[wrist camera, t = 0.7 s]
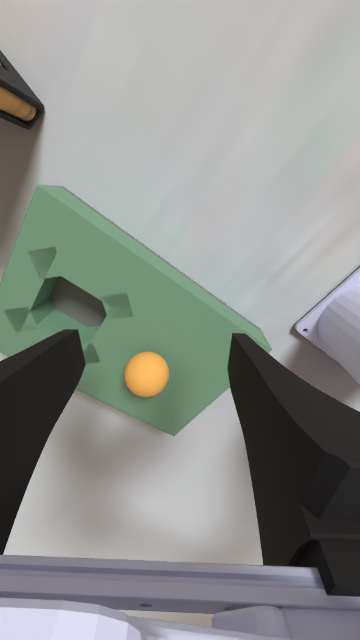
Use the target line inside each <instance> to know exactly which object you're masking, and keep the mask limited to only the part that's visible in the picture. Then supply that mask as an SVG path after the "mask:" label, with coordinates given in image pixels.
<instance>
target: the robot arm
mask: <svg viewBox="0 0 360 640" xmlns="http://www.w3.org/2000/svg"><path fill="white" fill-rule="evenodd" d="M295 329H296V331H297V332H299V333H300V334H301V335H303V336H304V337H305V338H306V339H308V340H309V341H310V342H312V343H313V344H314V345H316V346H317V347H318V348H320V349H321V350H322V351H323V352H325V353H326V354H327V355H329V356H330V357H331V358H333V359H334V360H335V361H337V362H338V363H339V364H340V365H342V367H343V368H344V369H345V370H346V371H347V372H348V373H349V374H350V375H351V376H352V377H353V378H354V380H355V381H356V382H357V383H358V384H359V385H360V267H359V268H358V269H357V270H356V271H355V272H354V273H353V274H352V275H350V276H349V277H348V278H347V279H346V280H345V281H344V282H343V283H341V284H340V285H339V286H338V287H337V288H336V289H335V290H334V291H332V292H331V293H330V294H329V295H328V296H327V297H326V298H325V299H323V300H322V301H321V302H320V303H319V304H318V305H317V306H316V307H314V308H313V309H312V310H311V311H310V312H309V313H308V314H307V315H305V316H304V317H303V318H302V319H301V320H300V321H299V322H298V323H296V325H295ZM303 329H306V330H305V331H303ZM85 366H86V362H85V357H84V353H83V349H82V344H81V340H80V335H79V331H78V329H64V330H62V331H60V332H57V333H55V334H53V335H51V336H49V337H47V338H46V339H44V340H42V341H40V342H38V343H36V344H34V345H32V346H30V347H28V348H26V349H25V350H23V351H21V352H19V353H17V354H14V355H12V356H10V357H8V358H6V359H4V360H2V361H0V640H360V412H359V411H357V410H355V409H353V408H351V407H349V406H347V405H345V404H343V403H341V402H339V401H337V400H336V399H334V398H332V397H330V396H328V395H327V394H325V393H323V392H321V391H320V390H318V389H316V388H315V387H313V386H312V385H310V384H308V383H307V382H305V381H304V380H302V379H301V378H299V377H298V376H296V375H295V374H294V373H292V372H291V371H289V370H288V369H287V368H286V367H284V366H283V365H282V364H280V363H279V362H278V361H277V360H275V359H274V358H273V357H272V356H271V355H269V354H268V353H267V352H266V351H265V350H264V349H263V348H261V347H260V346H259V345H258V344H257V343H256V342H255V341H254V340H253V339H251V338H250V337H249V336H248V335H247V334H246V333H232V338H231V345H230V352H229V360H228V367H227V369H228V376H229V383H230V388H231V392H232V396H233V399H234V403H235V406H236V410H237V413H238V417H239V420H240V424H241V427H242V431H243V435H244V439H245V444H246V450H247V456H248V461H249V467H250V473H251V479H252V486H253V492H254V499H255V505H256V512H257V519H258V526H259V534H260V542H261V549H262V557H263V565H264V566H263V565H239V564H214V563H190V562H166V561H142V560H118V559H93V558H69V557H45V556H21V555H3V553H4V550H5V547H6V544H7V541H8V538H9V535H10V532H11V529H12V527H13V524H14V521H15V518H16V515H17V512H18V510H19V507H20V504H21V502H22V499H23V497H24V494H25V491H26V489H27V486H28V483H29V481H30V479H31V476H32V474H33V471H34V469H35V467H36V464H37V462H38V459H39V457H40V455H41V453H42V450H43V448H44V446H45V444H46V441H47V439H48V437H49V435H50V433H51V431H52V429H53V427H54V425H55V423H56V422H57V420H58V418H59V417H60V415H61V413H62V411H63V410H64V408H65V406H66V404H67V403H68V401H69V399H70V397H71V396H72V394H73V392H74V390H75V389H76V387H77V385H78V383H79V381H80V379H81V376H82V374H83V371H84V368H85ZM114 609H117V610H114ZM118 610H139V611H162V612H163V611H164V612H183V613H205V614H214V616H213V618H212V628H211V627H205V626H197V625H191V624H184V623H177V622H169V621H162V620H155V619H149V618H141V617H133V616H128V615H127V614H125V613H124V612H121V611H118Z"/></svg>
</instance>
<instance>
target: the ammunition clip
mask: <svg viewBox="0 0 360 640" xmlns="http://www.w3.org/2000/svg"><path fill="white" fill-rule="evenodd" d="M43 110H44V105H43V104H42V103H41V101H40V100H39V99H38V98H37V96H36V95H35V94H34V92H33V91H32V90H31V89H30V87H29V86H28V85H27V84H26V82H25V81H24V80H23V79H22V77H21V76H20V75H19V73H18V72H17V71H16V70H15V68H14V67H13V66H12V65H11V63H10V62H9V61H8V60H7V58H6V57H5V56H4V54H3V53H2V52H1V51H0V117H1V118H3V119H5V120H7V121H10V122H12V123H14V124H17V125H19V126H21V127H23V128H26V129H28V130H29V129H30V128H31V126H32V125H33V124H34V122H35V121H36V120H37V118H38V117H39V116H40V114H41V113H42V112H43Z"/></svg>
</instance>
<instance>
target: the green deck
mask: <svg viewBox="0 0 360 640" xmlns="http://www.w3.org/2000/svg"><path fill="white" fill-rule="evenodd" d="M64 329H78V331H79V335H80V340H81V344H82V349H83V353H84V357H85V362H86V366H85V368H84V371H83V374H82V376H81V379H80V381H79V383H78V385H77V387H76V389H78V390H80V391H82V392H84V393H86V394H88V395H90V396H92V397H94V398H96V399H98V400H100V401H102V402H104V403H107V404H109V405H111V406H113V407H115V408H117V409H119V410H121V411H123V412H125V413H127V414H129V415H131V416H133V417H135V418H137V419H140V420H142V421H144V422H146V423H148V424H150V425H152V426H154V427H156V428H158V429H160V430H162V431H164V432H166V433H168V434H170V435H173V436H175V435H176V434H177V433H178V432H179V431H180V430H181V429H183V428H184V427H185V426H186V425H187V424H188V423H189V422H191V421H192V420H193V419H194V418H195V417H196V416H197V415H198V414H200V413H201V412H202V411H203V410H204V409H205V408H206V407H208V406H209V405H210V404H211V403H212V402H213V401H214V400H216V399H217V398H218V397H219V396H220V395H221V394H222V393H224V392H225V391H226V390H227V389H228V388H229V387H230V383H229V376H228V369H227V367H228V360H229V352H230V345H231V338H232V333H246V334H247V335H248V336H249V337H250V338H251V339H253V340H254V341H255V342H256V343H257V344H258V345H259V346H260V347H261V348H263V349H264V350H265V351H266V352H267V353H269V352H270V351H271V350H272V349H271V347H270V345H269V343H268V342H267V340H266V338H265V336H264V335H263V333H262V331H261V329H259V328H258V327H257V326H255V325H254V324H252V323H251V322H250V321H248V320H247V319H245V318H244V317H243V316H241V315H240V314H239V313H237V312H236V311H234V310H233V309H232V308H230V307H229V306H227V305H226V304H225V303H223V302H222V301H221V300H219V299H218V298H216V297H215V296H214V295H212V294H211V293H209V292H208V291H207V290H205V289H204V288H203V287H201V286H200V285H198V284H197V283H196V282H194V281H193V280H191V279H190V278H189V277H187V276H186V275H185V274H183V273H182V272H180V271H179V270H178V269H176V268H175V267H173V266H172V265H171V264H169V263H168V262H167V261H165V260H164V259H162V258H161V257H160V256H158V255H157V254H156V253H154V252H153V251H151V250H150V249H149V248H147V247H146V246H144V245H143V244H142V243H140V242H139V241H138V240H136V239H135V238H133V237H132V236H131V235H129V234H128V233H126V232H125V231H124V230H122V229H121V228H120V227H118V226H117V225H115V224H114V223H113V222H111V221H110V220H108V219H107V218H106V217H104V216H103V215H102V214H100V213H99V212H97V211H96V210H95V209H93V208H92V207H90V206H89V205H88V204H86V203H85V202H84V201H82V200H81V199H79V198H78V197H77V196H75V195H74V194H72V193H71V192H70V191H68V190H67V189H66V188H64V187H62V186H48V185H37V187H36V189H35V192H34V195H33V198H32V200H31V203H30V206H29V208H28V211H27V214H26V216H25V219H24V222H23V224H22V227H21V230H20V232H19V235H18V238H17V240H16V243H15V246H14V248H13V251H12V254H11V256H10V259H9V262H8V264H7V267H6V270H5V272H4V275H3V278H2V280H1V283H0V352H1V353H3V354H5V355H8V356H12V355H14V354H17V353H19V352H21V351H23V350H25V349H26V348H28V347H30V346H32V345H34V344H36V343H38V342H40V341H42V340H44V339H46V338H47V337H49V336H51V335H53V334H55V333H57V332H60V331H62V330H64ZM142 352H153V353H156V354H158V355H160V356H161V357H162V358H163V359H164V360H165V361H166V363H167V365H168V368H169V379H168V382H167V385H166V386H165V388H164V389H163V390H162V391H161V392H160V393H158V394H157V395H155V396H151V397H141V396H138V395H136V394H134V393H133V392H131V391H130V389H129V388H128V387H127V385H126V382H125V377H124V374H125V368H126V366H127V363H128V362H129V361H130V359H131V358H132V357H134V356H135V355H137V354H139V353H142Z"/></svg>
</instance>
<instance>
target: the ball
mask: <svg viewBox="0 0 360 640" xmlns="http://www.w3.org/2000/svg"><path fill="white" fill-rule="evenodd" d="M124 377H125V382H126V385H127V387H128V388H129V389H130V391H131V392H133V393H134V394H136V395H138V396H141V397H151V396H155V395H157V394H158V393H160V392H161V391H162V390H163V389H164V388H165V386H166V385H167V382H168V379H169V368H168V365H167V363H166V361H165V360H164V359H163V358H162V357H161V356H160V355H158V354H156V353H153V352H142V353H139V354H137V355H135V356H134V357H132V358H131V359H130V361H129V362H128V363H127V366H126V368H125V374H124Z"/></svg>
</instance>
